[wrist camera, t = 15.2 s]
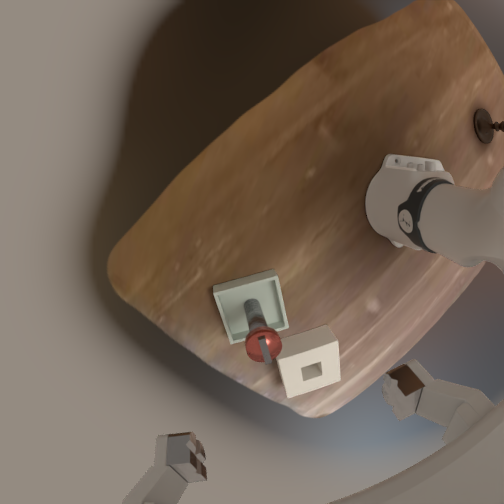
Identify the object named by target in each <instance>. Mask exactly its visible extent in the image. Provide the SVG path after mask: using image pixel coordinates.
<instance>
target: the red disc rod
mask: <svg viewBox="0 0 504 504" xmlns="http://www.w3.org/2000/svg"><path fill="white" fill-rule="evenodd" d="M244 310H245V315H246V319H247V323H248V327H249V331H250V332H249V333H248V334H247V336H246V338H245V346H246V351H247V354H248V356H249V357H250V358H251V359H252V360H254V361H257V362H265V364H270V363H272V360H273V359H274V358H276V357H277V356H278V355H279V354H280V352H281V350H282V342H281V339H280V337H279V334H278V333H277V331H276V330H275V329H273V328H271V327H268V325H267V323H266V320H265V317H264V314H263V311H262V308H261V305H260V303H259V301H258V300H257V299H254V298H251V299H248V300H247V301H245V303H244Z"/></svg>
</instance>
